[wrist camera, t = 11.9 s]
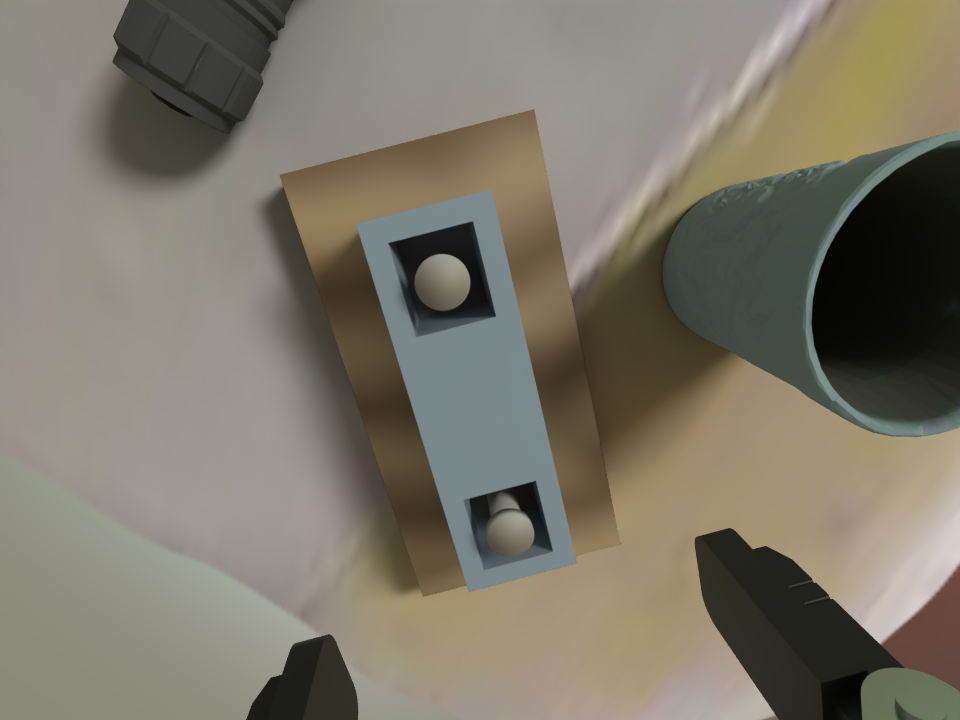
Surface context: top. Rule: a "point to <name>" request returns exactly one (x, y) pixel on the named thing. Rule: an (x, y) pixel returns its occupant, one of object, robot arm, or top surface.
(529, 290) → the mount board
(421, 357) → the blue-grey block with holes
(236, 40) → the flashlight
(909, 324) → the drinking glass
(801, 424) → the top surface
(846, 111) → the top surface
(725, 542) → the robot arm
